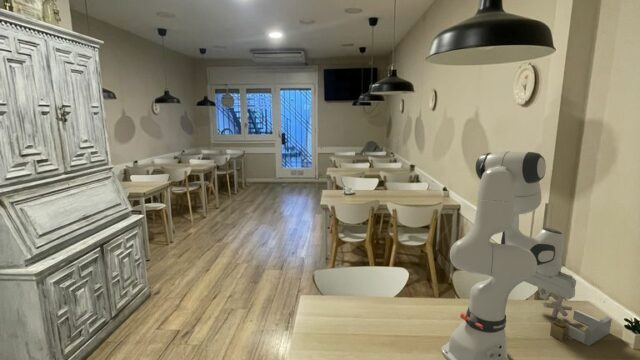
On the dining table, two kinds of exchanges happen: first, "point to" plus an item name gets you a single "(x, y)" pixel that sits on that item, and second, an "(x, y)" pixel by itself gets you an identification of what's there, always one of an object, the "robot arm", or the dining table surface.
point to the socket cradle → (589, 328)
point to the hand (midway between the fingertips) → (543, 298)
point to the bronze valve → (559, 330)
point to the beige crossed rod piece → (557, 306)
